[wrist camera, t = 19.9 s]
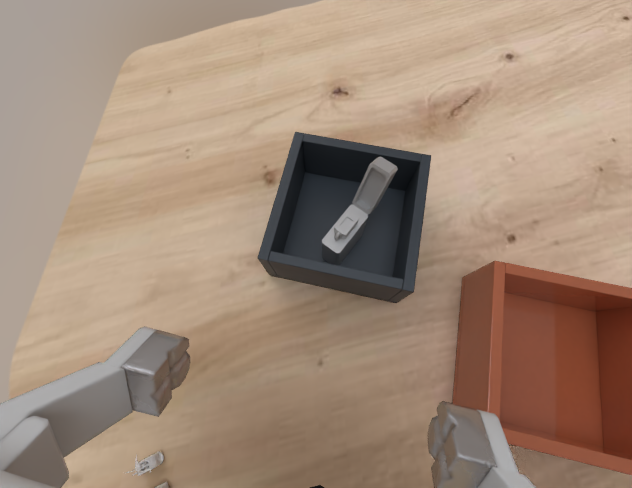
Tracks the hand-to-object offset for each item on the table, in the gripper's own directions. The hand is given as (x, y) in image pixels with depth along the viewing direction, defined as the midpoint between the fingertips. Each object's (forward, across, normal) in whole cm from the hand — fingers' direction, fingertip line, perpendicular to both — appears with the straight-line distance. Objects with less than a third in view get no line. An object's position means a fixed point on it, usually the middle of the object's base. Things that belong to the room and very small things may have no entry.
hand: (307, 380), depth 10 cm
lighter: (+20, -1, +4) cm, 20 cm away
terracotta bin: (+15, -17, +9) cm, 24 cm away
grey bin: (+20, 0, +4) cm, 21 cm away
